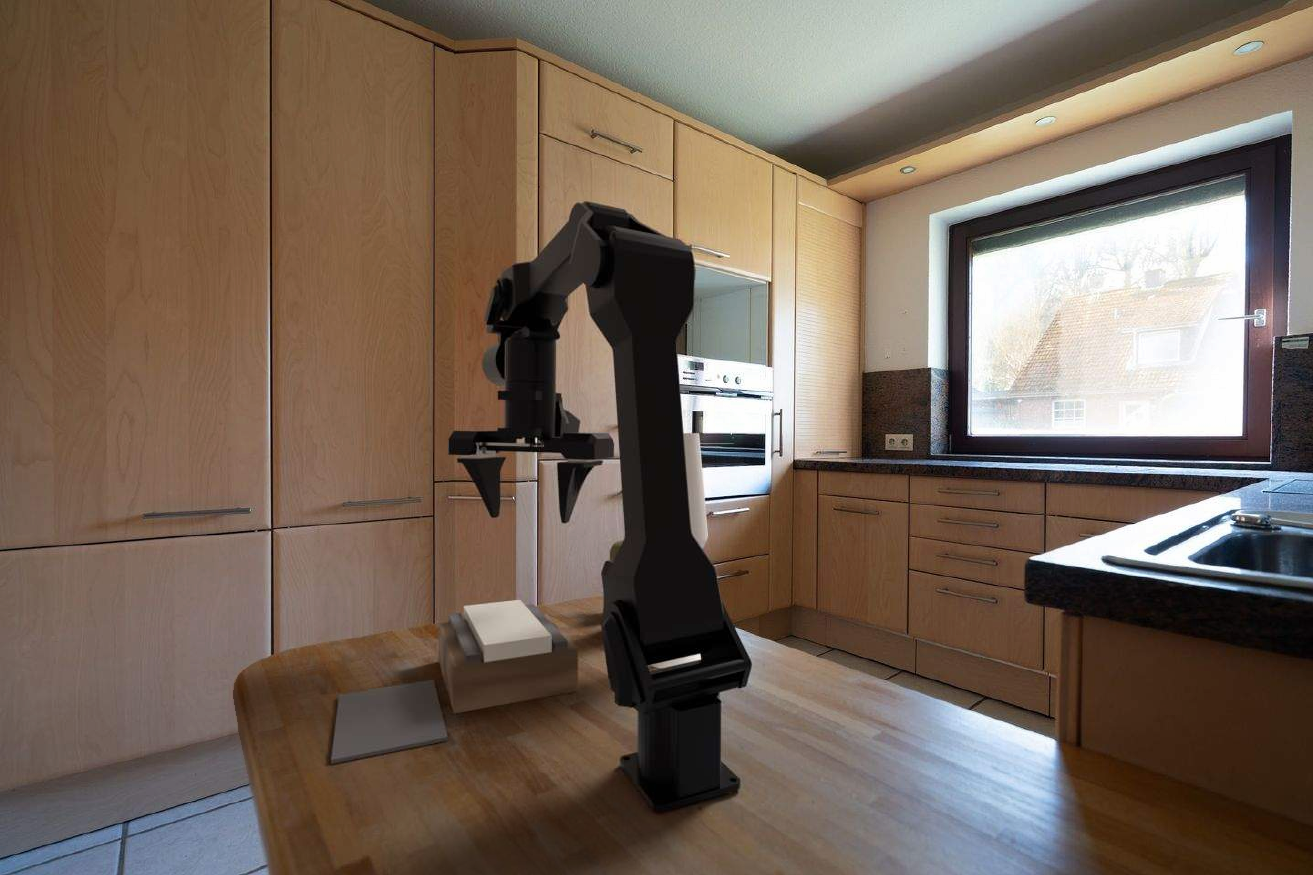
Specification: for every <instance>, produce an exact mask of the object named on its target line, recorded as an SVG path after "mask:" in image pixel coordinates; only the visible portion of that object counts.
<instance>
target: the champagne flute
mask: <svg viewBox="0 0 1313 875" xmlns="http://www.w3.org/2000/svg"><path fill="white" fill-rule="evenodd" d="M684 444H685V457H686V470H687V483H688V496H689V508H690V521H691V530H692V534H693V536H694V537H695V539H696V540H697V542H698V543H699V545H700V546H701V548H702V549H703V548H704V547H705V546H706V543H707V541H708V538H709V534H708V533H709V532H708V520H707V518H708V517H707V509H706V508H707V507H706V498H705V486H704V473H703V464H702V463H703V462H702V453H701V451H702V449H701V440H700V433H699V432H696V433H695V432H692V433H691V432H690V433H689V432H686V433H685V432H684ZM703 550H704V549H703ZM696 660H701V656H700V654H697V655H693V656H688V657H684V658H679V659H675V660H670V661H666V662H661V663H657V664H652V665H650V666H651V667H653V668H656V669H661V668H666V667H670V666H674V665H679V664H683V663H688V662H692V661H696Z"/></svg>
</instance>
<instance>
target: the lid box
mask: <svg viewBox="0 0 1313 875" xmlns="http://www.w3.org/2000/svg"><path fill="white" fill-rule="evenodd" d="M524 605H525V604H524ZM525 606H526V607H527V608H528V609H529V610H530V612H531V613H532V614H533V615H534V616H535V617H536V618H537V619H538V621H539V622H540V623H541V624H542V625H543V626H544V627H545V629H546V630H547V631H548V632H549V633H550V634H551V635H552V652H548V653H542V654H535V655H529V656H522V657H516V658H509V659H503V660H496V661H490V662H484V661H483V659H482V657H481V653H480V651H479V649H478V647H477V645H476V643H475V641H474V639H473V637H472V635H471V633H470V631H469V629H468V627H467V625H466V623H465V621H464V616H463V615H462V613H461V612H459V613H450V614H448V621H445V622H439V623H438V664H439V667H440V671H441V673H442V677H443V680H444V683H445V688H446V692H447V695H448V698H449V701H450V704H451V708H452V712H453V714H460V713H464V712H465V713H466V712H470V711H477V710H481V709H487V708H492V707H499V706H503V705H508V704H515V703H519V702H524V701H529V700H536V699H541V698H546V697H552V696H558V695H562V694H569V693H574V692H578V691H579V647H577V645H576V644H575V643H574V642H573V641H572V639H570V638H569V637H568V636H567V635H566V633H564V631H562V629H561V628H559V626H558V625H557V624H556V623H555V622H554V621H553V620H552V618H550V617H549V616H548V615H547V614H546V613H545V612H544V611H543V610H539V608H538V607H537V606H535V604H534V603H533V604H526V605H525Z"/></svg>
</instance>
